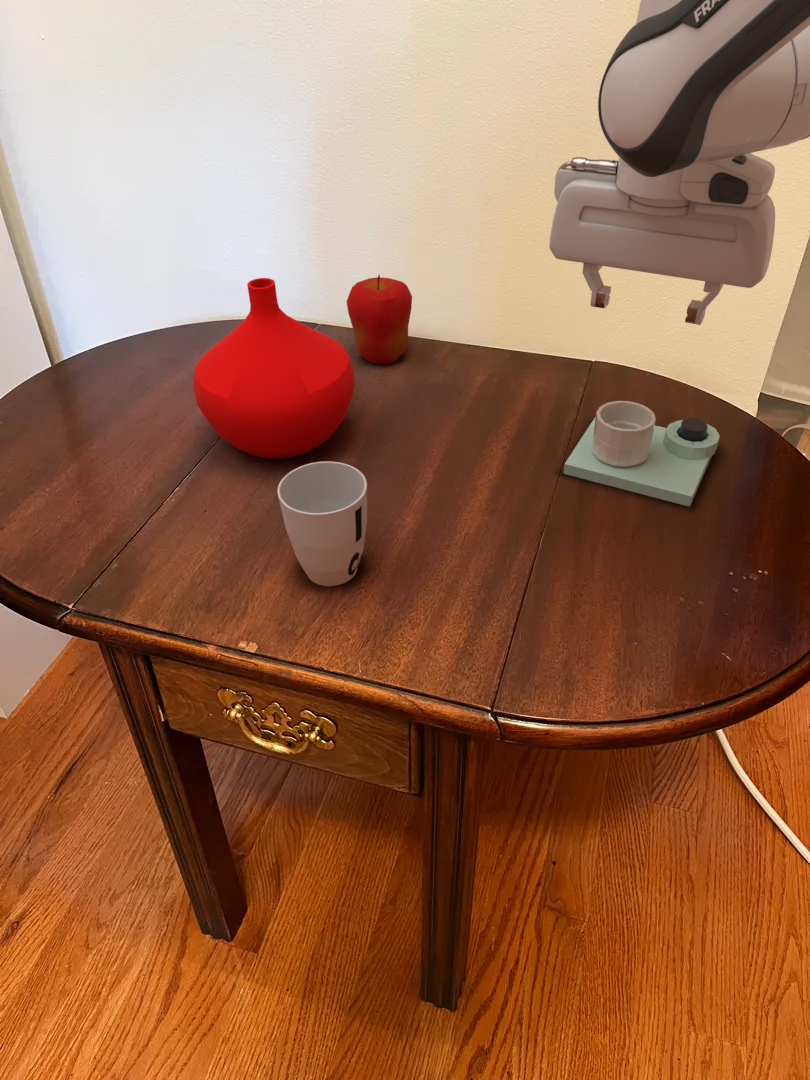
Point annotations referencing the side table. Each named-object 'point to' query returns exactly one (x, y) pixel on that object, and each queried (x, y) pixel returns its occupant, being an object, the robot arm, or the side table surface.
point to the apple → (380, 318)
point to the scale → (651, 465)
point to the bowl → (623, 433)
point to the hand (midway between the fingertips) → (645, 313)
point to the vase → (274, 381)
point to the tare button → (693, 430)
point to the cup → (325, 519)
